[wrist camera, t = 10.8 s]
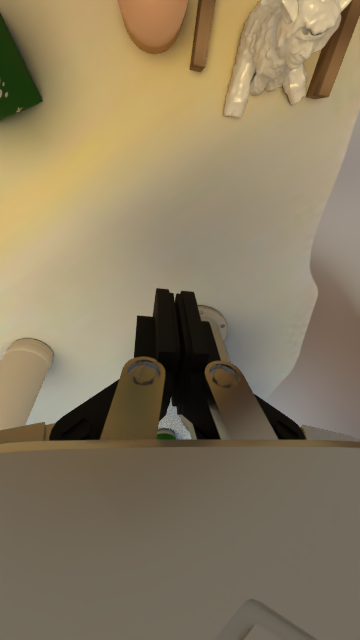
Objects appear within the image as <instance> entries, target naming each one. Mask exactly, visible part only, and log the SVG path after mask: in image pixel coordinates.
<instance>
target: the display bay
mask: <svg viewBox="0 0 360 640" xmlns="http://www.w3.org/2000/svg"><path fill="white" fill-rule="evenodd" d="M214 6H215V0H199V3H198V10H197V18H196V26H195V33H194V41H193V49H192V56H191V64H190V70H194V71H198V72H201V71H202V70H203V69H204V68H205V64H206V57H207V51H208V44H209V38H210V32H211V25H212V19H213V12H214ZM340 14H341V21H340V24H339V27H338V29H337V30H336V31H335V32H334V33H333V35H332V36H331V37H330V39H329V40H328V42H327V43H326V45H325V46H324V47H323V48H322V51H321V54H320V56H319V59H318V62H317V65H316V68H315V71H314V74H313V77H312V80H311V83H310V86H309V89H308V92H307V95H306V97H308V98H312V99H319V98H325V97H329V95H330V92H331V90H332V87H333V84H334V82H335V79H336V76H337V74H338V71H339V69H340V66H341V63H342V61H343V58H344V55H345V53H346V50H347V47H348V45H349V42H350V39H351V37H352V34H353V32H354V29H355V26H356V24H357V21H358V18H359V16H360V0H352V1H351V2H350V3H349V4H348V5H347V6H346V7H345V8H344V9H343V11H342V12H341V13H340Z"/></svg>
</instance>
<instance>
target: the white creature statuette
mask: <svg viewBox="0 0 360 640" xmlns="http://www.w3.org/2000/svg"><path fill="white" fill-rule="evenodd" d="M351 1H352V0H262V1H258V2H257V4H256V6H255V8H254V10H253V11H252V12H251V13H250V15H249V18H248V20H247V21H246V22H245V25H244V29H243V30H242V35H241V37H240V39H241V40H240V46H239V47H238V54H237V55H236V63H235V65H234V67H233V72H232V78H231V80H230V83H229V87H228V89H229V91H228V93H227V94H226V104H225V107H224V115H225V116H231V117H237V118H241V116H242V114H243V111H244V108H245V105H246V103H247V102H248V95H250V94H251V95H256V94H258V95H259V94H261V93H262V92H263V91H264V88H265V89H266V90H267V91H272V90H274V89H276V88H278V87H281V86H283V89H284V90H285V91H284V93H286V94H287V95H288V98H289V101H290V103H291V105H293V104H295V103H297V102H299V101H300V100H301V98H302V97H305V96H306V85H305V84H306V82H307V72H306V71H305V69H304V64H303V62H304V61H305V60H306V59H308V58H309V57H310V56H311V54H312V53H314V52H317V51H320V50H321V49H322V48H323V47H324V46H325V45H326V43H327V42H328V40H329V39H330V37H331V36H332V35H333V33H334V32H335V31H336V30H337V29H338V27H339V24H340V21H341V14H340V13H341V12H342V11H343V9H344V8H345V7H346V6H347V5H348V4H349V3H350V2H351ZM255 73H256V75H255V77H254V74H255Z"/></svg>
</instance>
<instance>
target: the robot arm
mask: <svg viewBox="0 0 360 640" xmlns="http://www.w3.org/2000/svg"><path fill="white" fill-rule="evenodd" d="M226 337H227V325H226V322H225V320H224V318H223V317H222V315H221V314H220V313H219V312H217V311H216V310H214V309H212V308H209V307H205V306H197V302H196V298H195V294H194V292H188V291H181V294H176V298H175V302H174V294H173V293H169V290H168V289H158V288H157V289H156V295H155V303H154V311H153V317H148V316H137V326H136V339H135V352H134V358H133V359H131V360H129V361H128V362H127V363H126V364H125V366H124V367H123V370H122V373H121V376H120V379H119V380H117V381H116V382H114V383H113V384H111V385H110V386H108V387H107V388H105V389H104V390H102V391H101V392H99V393H98V394H96V395H95V396H93V397H92V398H90V399H89V400H87V401H86V402H84V403H83V404H81V405H80V406H78V407H77V408H75V409H74V410H72V411H71V412H69V413H68V414H66V415H65V416H63V417H62V418H61V419H60V420H58V421H57V422H56V423H54V424H49V425H45V422H42V423H36V424H31V425H26V426H20V427H15V428H10V429H4V430H0V640H360V439H358V438H355V437H352V436H349V435H344V434H340V433H336V432H332V431H328V430H323V429H319V428H315V427H311V426H306V425H302V427H299V426H298V425H297V424H296V423H295V422H294V421H293V420H291V419H290V418H288V417H287V416H285V415H284V414H282V413H281V412H280V411H278V410H277V409H275V408H274V407H272V406H271V405H269V404H268V403H267V402H265V401H264V400H262V399H261V398H259V397H258V396H256V395H255V394H253V392H252V390H251V388H250V386H249V385H248V383H247V381H246V379H245V377H244V376H243V374H242V372H241V371H240V370H239V369H238V368H237V367H236V366H235V365H233V364H231V362H230V359H229V356H228V353H227V350H226V347H225V344H224V341H225V339H226ZM171 398H172V406H177V415H179V417H180V419H181V421H182V423H183V425H184V426H185V427H186V429H187V430H188V431H189V432H190V435H191V438H192V440H156V439H157V432H158V424H159V421H160V420H161V419H162V418H163V417H164V416H165V415H166V413H167V408H168V406H169V403H170V399H171Z"/></svg>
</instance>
